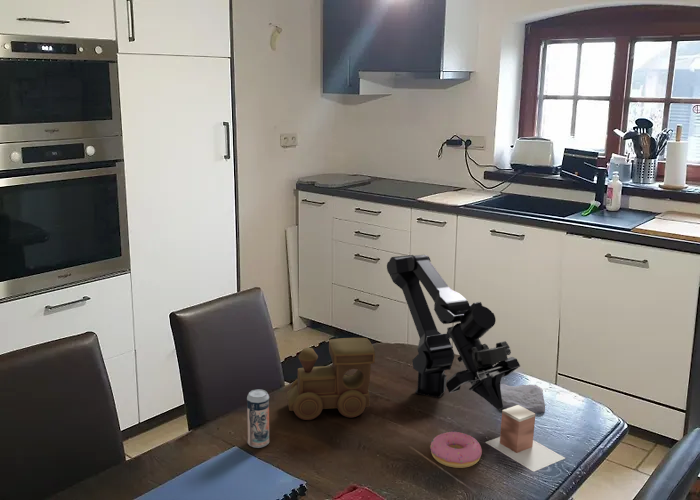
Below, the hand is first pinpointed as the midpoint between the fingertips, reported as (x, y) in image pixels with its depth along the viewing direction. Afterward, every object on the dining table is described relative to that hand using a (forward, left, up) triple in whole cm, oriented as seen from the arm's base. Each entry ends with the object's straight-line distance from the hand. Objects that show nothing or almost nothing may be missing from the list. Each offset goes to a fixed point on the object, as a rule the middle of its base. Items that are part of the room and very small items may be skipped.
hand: (500, 408), depth 155 cm
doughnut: (-7, -13, -7) cm, 16 cm away
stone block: (+2, +18, -7) cm, 20 cm away
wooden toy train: (-40, -3, -7) cm, 41 cm away
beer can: (-48, -24, -7) cm, 54 cm away
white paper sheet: (+6, -4, -7) cm, 10 cm away
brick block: (+4, -3, -6) cm, 8 cm away
